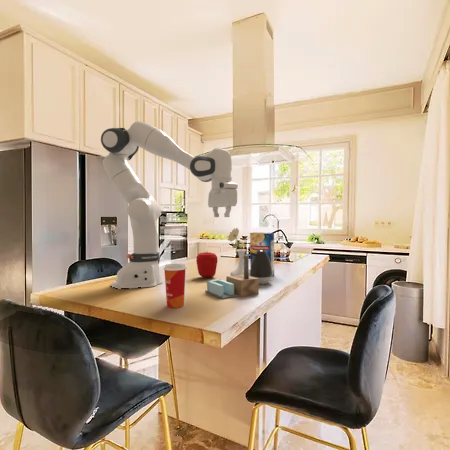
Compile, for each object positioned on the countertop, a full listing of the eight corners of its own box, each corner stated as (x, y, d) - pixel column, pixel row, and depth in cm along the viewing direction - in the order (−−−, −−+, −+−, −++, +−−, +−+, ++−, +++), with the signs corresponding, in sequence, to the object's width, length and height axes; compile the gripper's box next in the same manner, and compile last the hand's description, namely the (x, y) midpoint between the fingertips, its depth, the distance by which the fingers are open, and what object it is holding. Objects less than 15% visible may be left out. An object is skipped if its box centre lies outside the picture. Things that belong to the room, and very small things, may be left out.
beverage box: (271, 277, 158) (270, 233, 157) (250, 275, 162) (249, 233, 162) (274, 274, 164) (274, 232, 164) (254, 273, 168) (254, 232, 168)
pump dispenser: (245, 282, 145) (245, 249, 145) (265, 280, 150) (264, 248, 149) (256, 286, 136) (256, 251, 136) (276, 284, 140) (276, 250, 140)
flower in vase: (244, 274, 166) (243, 227, 165) (257, 277, 156) (257, 227, 156) (223, 277, 159) (222, 227, 158) (235, 280, 149) (235, 228, 149)
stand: (241, 296, 119) (241, 256, 118) (226, 290, 128) (226, 254, 128) (258, 293, 123) (258, 255, 123) (242, 288, 132) (242, 253, 132)
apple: (192, 277, 158) (192, 250, 157) (206, 275, 165) (206, 249, 165) (207, 280, 151) (207, 252, 150) (221, 277, 158) (221, 250, 158)
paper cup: (165, 303, 110) (164, 263, 110) (187, 302, 111) (186, 262, 111) (162, 309, 103) (162, 266, 102) (186, 308, 103) (185, 266, 103)
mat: (222, 299, 115) (222, 297, 115) (205, 291, 127) (205, 290, 127) (238, 296, 119) (238, 295, 119) (220, 289, 131) (220, 288, 131)
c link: (207, 290, 127) (207, 280, 127) (220, 289, 130) (220, 279, 129) (220, 296, 117) (220, 285, 117) (234, 294, 120) (234, 284, 120)
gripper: (204, 187, 146) (204, 217, 146) (226, 183, 128) (226, 217, 128) (216, 188, 149) (216, 217, 149) (239, 184, 131) (239, 217, 131)
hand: (221, 217), depth 138 cm, fingers open, 8 cm apart
